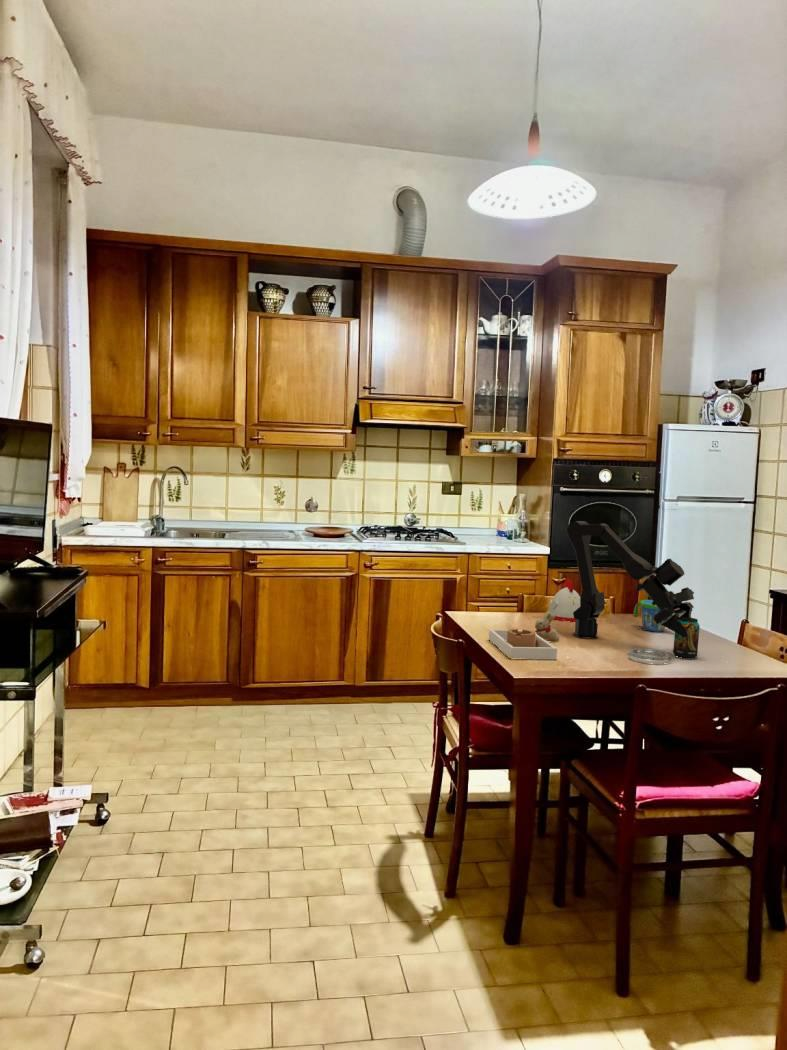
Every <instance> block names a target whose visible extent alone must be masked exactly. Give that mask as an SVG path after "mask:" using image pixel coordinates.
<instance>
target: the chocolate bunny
mask: <svg viewBox="0 0 787 1050" xmlns="http://www.w3.org/2000/svg"><path fill="white" fill-rule="evenodd" d="M554 618H555V617H554V615H552V614H551V613H550V611H548V610H547V612H545V614H544V615H543V616H542V617H541V618H538V619H536V621H535V630H534V632H535V633H536V634H537V635H538V636H540V637H541V638H543V639H544V640H546V641H557V642H559V641H560V636H559V635H558V631H557V630H556V629H554V628H553V627H551V622H552V621H554V620H553V619H554ZM558 640H559V641H558Z"/></svg>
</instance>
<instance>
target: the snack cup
mask: <svg viewBox="0 0 787 1050" xmlns="http://www.w3.org/2000/svg"><path fill="white" fill-rule="evenodd" d="M652 602H653V601H652V599H643V600H640V601H639V602H637V603H636V604H635V606H634V609H633V616H634V618H638V617H639V607H640V608H641V622H642V623H641V625H642V629H643V630H644V631H649V632H653V633H655V632H656V633H660V632H661V633H663V632H664V631H665V630H666V627H664V626H662V625H661V624H662V623H664V621H662V623H661V624H658V625H657V624H656V623H655V621H654V620H653V619H654V615H656V614H657V613H658V612H659V611H660V610H659V608H658V607H657V606H656V605H654V606H653V604H652Z"/></svg>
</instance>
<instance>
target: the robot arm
mask: <svg viewBox="0 0 787 1050" xmlns="http://www.w3.org/2000/svg"><path fill="white" fill-rule="evenodd" d="M566 534H567V537H568V539H569V542H570V543H571V545H572V547H573V548H574V551H575V557H576V562H577V563H576V564H577V568H578V573H579V579H580V586H581V593H580V607H579V608H578V609H577V610H575V611H574V612H573V615H574V619H576V622H574V623H575V624H574V626H575V627H574V631H573V632H572V635H574V636H576V637H578V638H580V639H598V636H597V635H598V627H599V626H598V625H599V623H597V619H599V617H600V614H601V613H603V612H604V610H605V608H606V604H607V602H606V600H605V593H604V591H601V592H600V590H598V587H597V584H596V577H595V573H594V566H593V562H592V556H591V555H592V554H591V550H590V544H591V540H592V539H591V538H592V536H598V537H599V538H600V539H601V541H603V543H604V544H605V545H606V546H607V547H608V548H609V550H610V551H612V553H614V555H616V557H617V558H618V559H619V560H620V561H621V562H622V565H623V567H624V570H625V572H626V573H627V574H628V576H629V577H630V578H631V579H632V580H636V581H639V580H643V579H644V580H643V581H642V582H637V583H636V592H641V591H642V592H643V591H645V593H646V594H647V596H648V597H649V598H650V600H652V601H653V602H652V604H653V606H654V605H656V606H657V607H658V608H659V610H660V611H659V612H658V613H657V614H656V615H654V619H653V620H654V621H655V623H656V624H657V625H658V624H661V623H662V621H664V623H662V624H661V625H662V626H664V627H665V629H666V628H667V629H669V630H670V631H672V632H674V633H675V632H676V633H678V634H679V635H681V636H683V637H685V638H686V637H687V636H688V635H687V633H686V631H685V629H684V628H683V626H682V624H681V623H680V621H679V617H690V618H692V611H693V609H694V608H695V607H694V605H693V603H692V602H691V600H694V599H695V597H694V594H695V592H694V591H693V590H692V589H690V588H689V587H684V588H681V590H680V591H679V592H676V593H674V591H672V590H668V588H667V587H666V586H669V587H671V586H672V585H673V584H675V583H676V582H677V581H678V580H679V579H681V578H682V577H683V576H684V575H685V571H684V570H683V569H684V568H682V567H681V565H679V564H678V563H676V562H675V561H673V560H672V558H667V559H666V560H665V561H664V562H663V563H661V565H659V566H658V567H657V566H653V565H651V563H650V562H648V561H647V560H646V559H644V558H643V557H642V556H640V555H638V554H636V553H634V552H633V551H632V550H631V548H630V547H628V546H627V544H626V543H625V542H624V541H623V540H622V539H621V538H620V537H619V536H618V534H616V533H615V532H614V531H613V530H612V529H611V528H610V526H609V524H607V523H598V524H597V523H588V522H586V521H584V520H583V521H581V520H580V521H579V520H578V521H571V522H570V523H568V525H567V526H566ZM650 576H652V577H650Z"/></svg>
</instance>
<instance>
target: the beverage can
mask: <svg viewBox="0 0 787 1050" xmlns="http://www.w3.org/2000/svg"><path fill="white" fill-rule="evenodd" d="M679 621H680V623H681V624H682V626H683V628H684V629H685V631H686V633H687V635H688V636H687V637H686V638H685V637H683V636H681V635H679V634H678V633H676V632H674V639H673V649H672V653H673V655H674V656H675V657H676V656H678V657H677V658H679V657H682V658H681V659H683V658H694V659H696V658H697V657H698V652H699V651H698V650H699V637H700V628H701V626H700V624H699V620H698V618H693V617H691V618H690V617H679Z"/></svg>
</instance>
